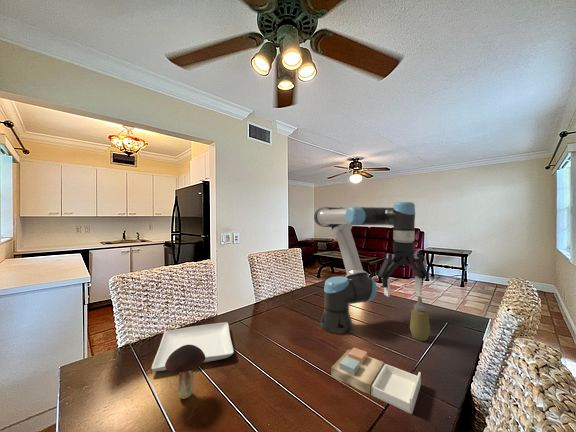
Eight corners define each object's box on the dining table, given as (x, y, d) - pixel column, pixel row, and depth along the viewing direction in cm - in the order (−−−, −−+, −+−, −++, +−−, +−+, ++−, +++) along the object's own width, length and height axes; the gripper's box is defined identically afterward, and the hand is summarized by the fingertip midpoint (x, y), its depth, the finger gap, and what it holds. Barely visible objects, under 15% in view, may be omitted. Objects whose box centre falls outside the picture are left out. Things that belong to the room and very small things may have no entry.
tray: (371, 395, 70) (371, 381, 70) (384, 371, 81) (384, 359, 81) (412, 414, 63) (412, 399, 63) (420, 385, 74) (420, 372, 74)
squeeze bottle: (433, 343, 98) (433, 301, 99) (413, 341, 100) (412, 299, 100) (426, 334, 106) (426, 295, 107) (407, 332, 108) (407, 293, 108)
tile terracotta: (348, 358, 83) (348, 353, 83) (353, 352, 87) (353, 347, 87) (362, 364, 80) (362, 358, 80) (367, 357, 84) (367, 352, 84)
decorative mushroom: (209, 383, 75) (209, 336, 75) (197, 411, 64) (197, 356, 64) (175, 384, 74) (175, 337, 74) (156, 413, 63) (157, 357, 64)
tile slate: (339, 369, 77) (339, 362, 77) (345, 361, 81) (345, 355, 81) (353, 375, 74) (353, 369, 74) (359, 367, 78) (359, 361, 78)
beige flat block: (331, 376, 78) (331, 367, 78) (348, 356, 89) (348, 349, 89) (370, 394, 70) (370, 384, 70) (383, 370, 81) (383, 362, 81)
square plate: (164, 338, 103) (164, 330, 103) (228, 329, 112) (228, 321, 112) (150, 378, 77) (150, 367, 77) (234, 362, 86) (234, 351, 86)
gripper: (379, 242, 86) (378, 299, 87) (439, 242, 90) (438, 296, 90) (369, 240, 94) (368, 292, 94) (424, 239, 98) (423, 290, 98)
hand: (402, 294), depth 92 cm, fingers open, 13 cm apart
